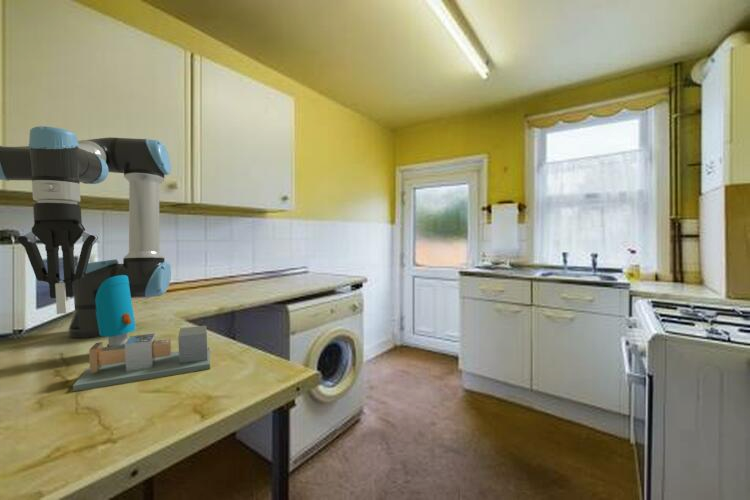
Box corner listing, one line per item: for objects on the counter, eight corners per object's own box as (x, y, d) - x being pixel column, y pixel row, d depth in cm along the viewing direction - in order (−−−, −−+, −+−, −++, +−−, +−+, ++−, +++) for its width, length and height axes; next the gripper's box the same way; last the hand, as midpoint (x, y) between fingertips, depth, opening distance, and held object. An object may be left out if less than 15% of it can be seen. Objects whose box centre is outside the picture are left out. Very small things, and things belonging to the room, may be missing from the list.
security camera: (113, 272, 98) (142, 273, 96) (116, 346, 99) (146, 348, 97) (82, 276, 90) (114, 277, 88) (87, 356, 91) (118, 359, 89)
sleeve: (131, 362, 84) (130, 336, 83) (156, 358, 86) (154, 333, 85) (126, 372, 78) (124, 344, 77) (152, 368, 80) (151, 341, 80)
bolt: (97, 364, 80) (96, 342, 80) (171, 354, 87) (171, 333, 86) (90, 373, 75) (89, 349, 75) (169, 361, 82) (169, 339, 82)
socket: (181, 354, 89) (180, 328, 88) (207, 350, 91) (206, 325, 91) (179, 364, 82) (178, 336, 81) (207, 360, 84) (206, 333, 84)
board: (91, 368, 83) (91, 363, 83) (209, 351, 94) (209, 347, 94) (73, 391, 71) (72, 385, 71) (209, 368, 82) (209, 363, 82)
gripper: (6, 200, 67) (14, 319, 69) (90, 202, 73) (96, 312, 74) (24, 203, 74) (31, 312, 75) (100, 205, 80) (105, 306, 81)
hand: (63, 312), depth 75 cm, fingers closed
